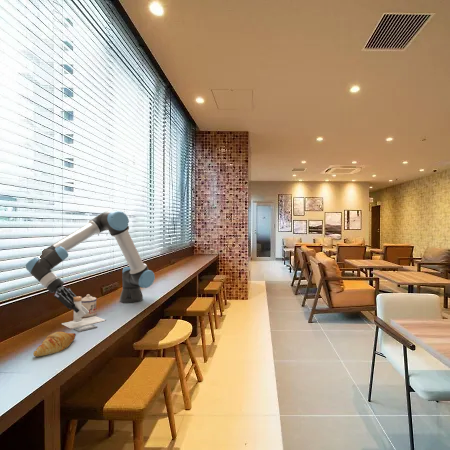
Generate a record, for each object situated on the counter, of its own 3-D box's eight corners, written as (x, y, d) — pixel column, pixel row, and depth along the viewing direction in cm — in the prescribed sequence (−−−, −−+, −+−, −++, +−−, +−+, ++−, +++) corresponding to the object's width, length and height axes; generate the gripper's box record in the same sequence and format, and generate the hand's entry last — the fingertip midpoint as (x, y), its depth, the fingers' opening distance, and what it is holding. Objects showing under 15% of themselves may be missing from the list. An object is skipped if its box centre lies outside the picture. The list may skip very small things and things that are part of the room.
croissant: (40, 369, 118) (48, 351, 117) (21, 354, 120) (28, 336, 119) (79, 347, 139) (86, 331, 138) (62, 334, 141) (69, 319, 140)
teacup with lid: (91, 317, 173) (91, 296, 174) (75, 317, 175) (75, 296, 175) (102, 311, 185) (102, 292, 186) (87, 311, 186) (87, 291, 187)
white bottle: (79, 319, 164) (79, 296, 164) (82, 320, 161) (82, 297, 161) (72, 321, 161) (72, 297, 161) (75, 322, 158) (75, 298, 158)
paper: (95, 316, 175) (95, 316, 175) (105, 320, 167) (105, 320, 167) (61, 324, 162) (61, 323, 162) (70, 328, 154) (70, 328, 154)
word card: (91, 325, 160) (91, 323, 160) (97, 327, 156) (97, 326, 156) (73, 329, 153) (73, 328, 153) (78, 332, 149) (78, 330, 149)
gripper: (54, 285, 169) (86, 315, 169) (38, 291, 152) (72, 324, 153) (65, 275, 169) (96, 305, 170) (49, 280, 152) (84, 313, 153)
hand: (85, 314), depth 161 cm, fingers closed on white bottle, 3 cm apart
